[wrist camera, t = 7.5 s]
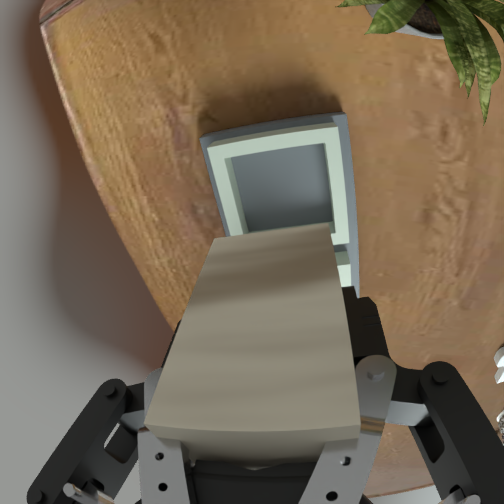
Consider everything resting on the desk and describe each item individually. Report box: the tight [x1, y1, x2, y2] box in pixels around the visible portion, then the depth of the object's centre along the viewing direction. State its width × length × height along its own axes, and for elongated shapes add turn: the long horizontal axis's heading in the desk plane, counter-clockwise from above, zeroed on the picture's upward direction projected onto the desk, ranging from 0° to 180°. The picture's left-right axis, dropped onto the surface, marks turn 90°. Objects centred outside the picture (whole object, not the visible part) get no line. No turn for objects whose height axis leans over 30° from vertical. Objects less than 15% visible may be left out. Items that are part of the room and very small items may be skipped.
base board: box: [199, 112, 359, 298], centre depth 24 cm, size 21×11×10 cm, turn 12°
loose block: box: [144, 223, 361, 470], centre depth 11 cm, size 5×5×9 cm
